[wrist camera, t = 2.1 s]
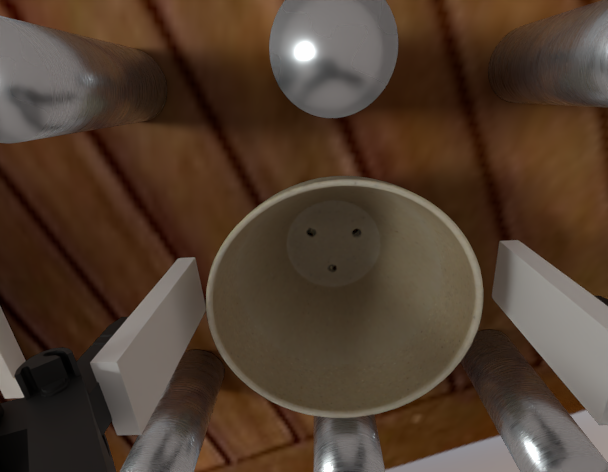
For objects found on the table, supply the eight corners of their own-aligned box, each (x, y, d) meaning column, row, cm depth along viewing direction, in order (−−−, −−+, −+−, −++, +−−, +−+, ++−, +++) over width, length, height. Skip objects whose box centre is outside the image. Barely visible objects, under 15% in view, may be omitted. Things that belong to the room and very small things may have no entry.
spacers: (180, 389, 24) (120, 524, 16) (90, 50, 16) (-98, 16, 9) (506, 376, 23) (600, 515, 15) (571, 7, 15) (819, -75, 8)
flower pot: (461, 249, 20) (537, 330, 13) (321, 344, 22) (324, 452, 15) (347, 103, 17) (370, 109, 10) (203, 230, 19) (147, 302, 13)
